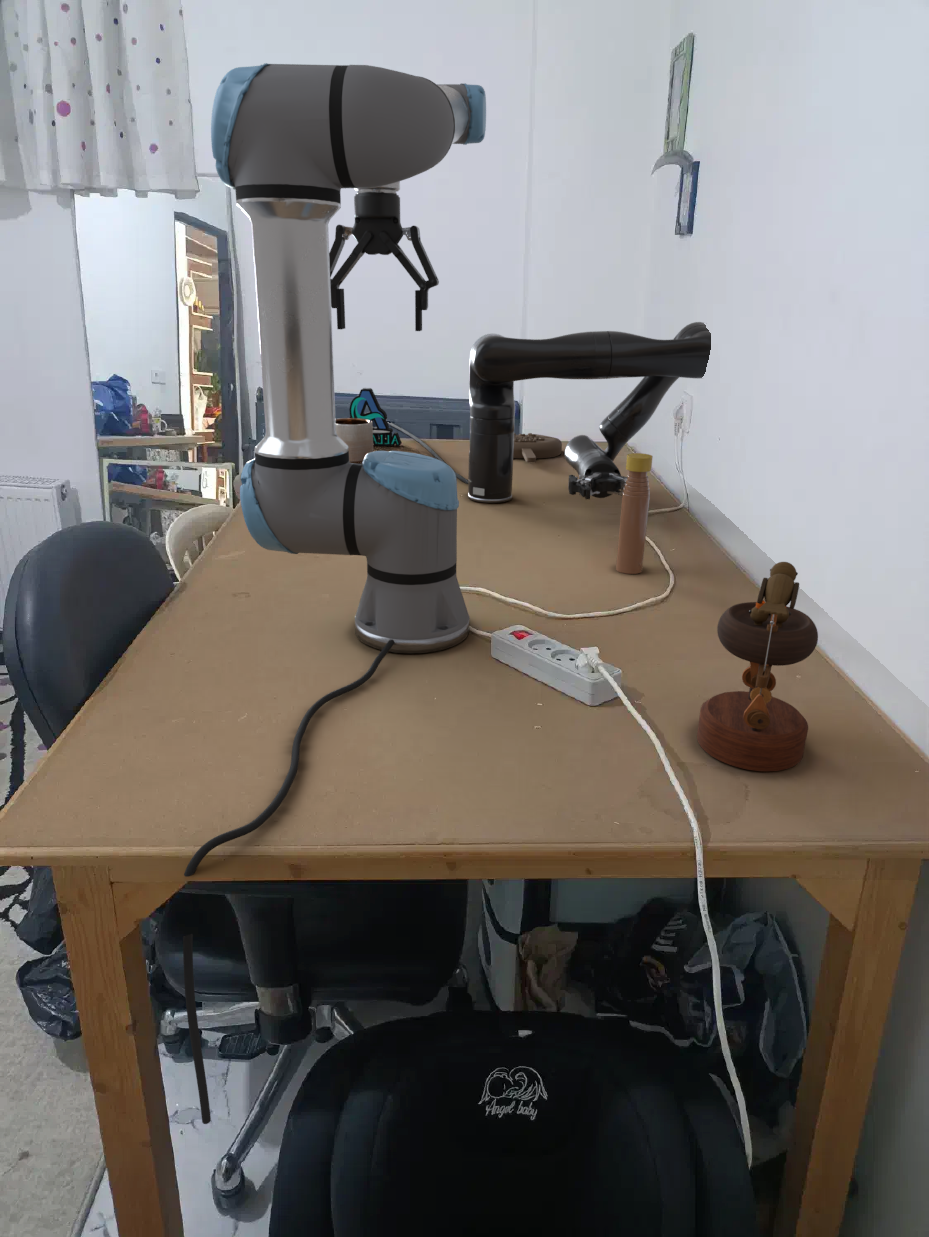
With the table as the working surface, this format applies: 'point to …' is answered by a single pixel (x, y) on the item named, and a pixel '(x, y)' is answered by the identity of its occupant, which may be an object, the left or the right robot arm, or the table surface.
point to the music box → (760, 680)
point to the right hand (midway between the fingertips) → (611, 494)
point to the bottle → (633, 523)
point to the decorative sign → (374, 418)
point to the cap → (639, 462)
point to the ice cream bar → (535, 447)
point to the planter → (356, 437)
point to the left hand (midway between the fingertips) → (379, 330)
